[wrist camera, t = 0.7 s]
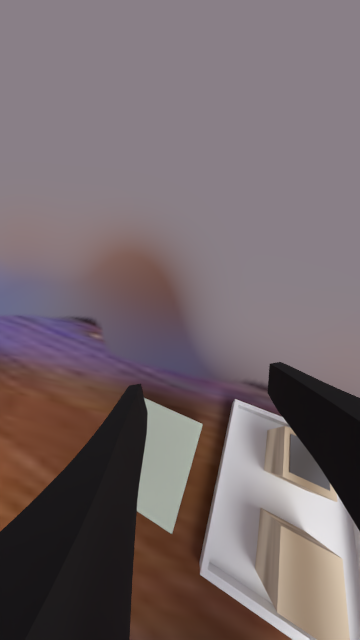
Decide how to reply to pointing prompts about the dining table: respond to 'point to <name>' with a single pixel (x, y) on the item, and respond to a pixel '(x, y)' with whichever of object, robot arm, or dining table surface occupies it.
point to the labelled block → (295, 463)
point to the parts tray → (279, 499)
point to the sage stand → (166, 463)
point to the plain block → (302, 578)
